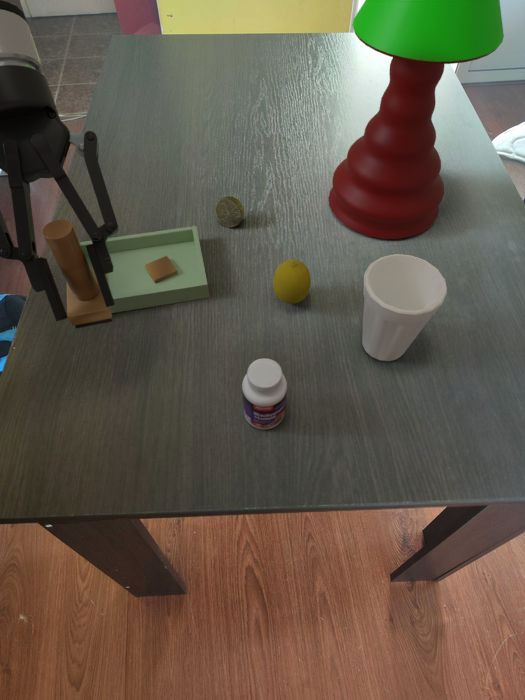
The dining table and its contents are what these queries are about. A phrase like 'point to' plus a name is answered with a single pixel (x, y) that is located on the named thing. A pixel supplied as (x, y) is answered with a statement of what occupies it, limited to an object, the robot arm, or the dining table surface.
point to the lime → (229, 211)
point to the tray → (139, 249)
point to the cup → (398, 303)
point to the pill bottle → (264, 394)
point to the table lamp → (408, 111)
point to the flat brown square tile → (161, 269)
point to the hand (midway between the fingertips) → (86, 312)
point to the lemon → (292, 281)
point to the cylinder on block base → (77, 276)
